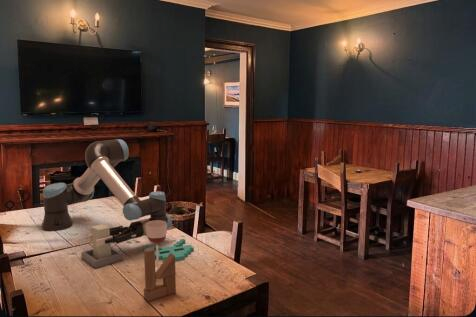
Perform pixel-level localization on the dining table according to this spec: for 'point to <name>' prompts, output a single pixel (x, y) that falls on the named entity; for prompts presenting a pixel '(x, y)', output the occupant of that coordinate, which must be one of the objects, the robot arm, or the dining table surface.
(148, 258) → the wooden braced frame
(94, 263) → the grey tray
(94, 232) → the tan rectangular block
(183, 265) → the dining table surface
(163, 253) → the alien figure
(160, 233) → the wineglass
